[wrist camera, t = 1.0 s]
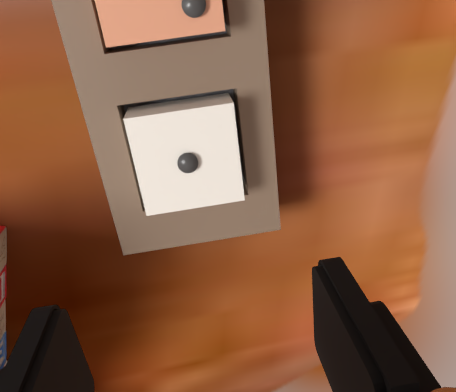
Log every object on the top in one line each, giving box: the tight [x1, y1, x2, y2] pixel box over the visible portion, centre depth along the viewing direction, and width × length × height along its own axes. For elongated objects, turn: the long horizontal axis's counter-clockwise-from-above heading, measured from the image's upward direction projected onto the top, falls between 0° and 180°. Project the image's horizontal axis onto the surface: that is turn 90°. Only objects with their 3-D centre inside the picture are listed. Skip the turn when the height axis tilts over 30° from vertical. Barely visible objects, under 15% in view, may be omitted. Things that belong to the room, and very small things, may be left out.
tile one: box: [123, 93, 245, 216], centre depth 23 cm, size 6×6×3 cm
